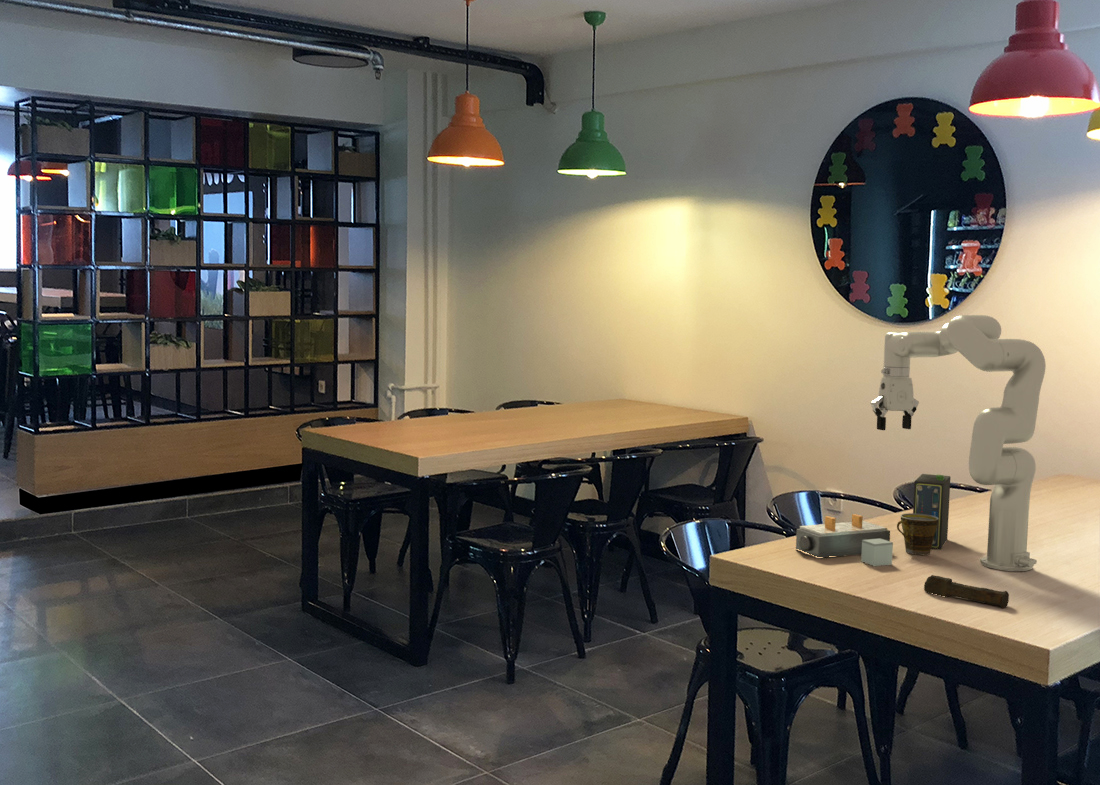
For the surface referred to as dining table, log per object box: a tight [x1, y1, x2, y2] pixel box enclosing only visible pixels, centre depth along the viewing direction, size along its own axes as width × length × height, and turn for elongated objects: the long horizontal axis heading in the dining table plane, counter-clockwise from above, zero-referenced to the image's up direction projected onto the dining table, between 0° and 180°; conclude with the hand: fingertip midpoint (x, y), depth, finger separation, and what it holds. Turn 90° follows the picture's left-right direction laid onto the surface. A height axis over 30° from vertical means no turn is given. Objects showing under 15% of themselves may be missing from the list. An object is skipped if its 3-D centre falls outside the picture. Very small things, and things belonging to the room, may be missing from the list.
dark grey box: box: [912, 473, 951, 551], centre depth 297 cm, size 8×18×20 cm, turn 152°
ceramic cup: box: [896, 512, 939, 556], centre depth 285 cm, size 13×10×10 cm
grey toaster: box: [795, 513, 891, 557], centre depth 285 cm, size 10×25×10 cm, turn 112°
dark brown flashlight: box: [923, 574, 1010, 610], centre depth 240 cm, size 19×4×5 cm, turn 47°
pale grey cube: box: [860, 538, 894, 567], centre depth 273 cm, size 5×6×6 cm
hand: (893, 429), depth 311 cm, fingers open, 9 cm apart
